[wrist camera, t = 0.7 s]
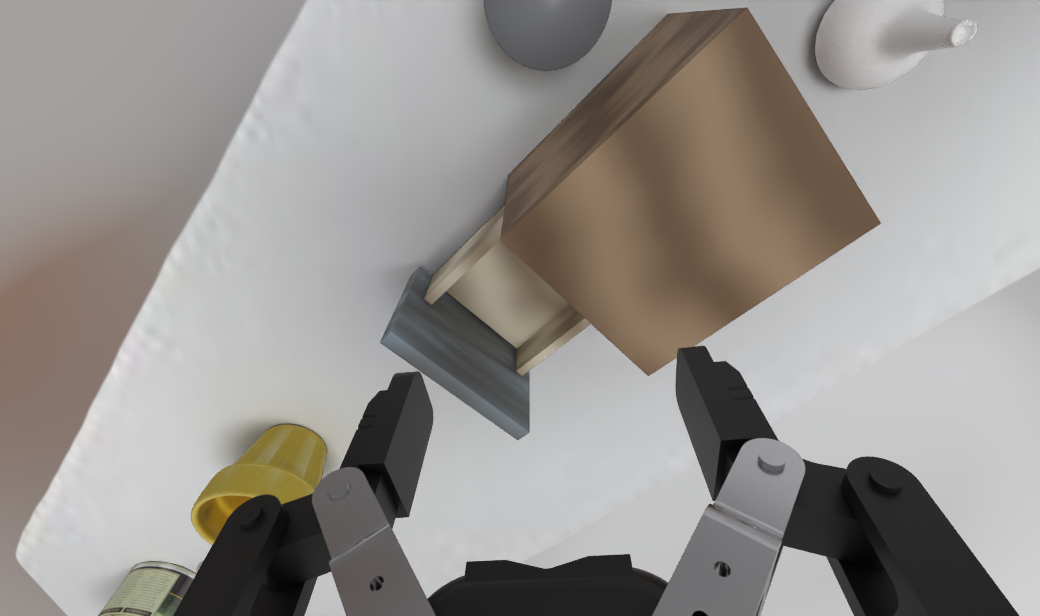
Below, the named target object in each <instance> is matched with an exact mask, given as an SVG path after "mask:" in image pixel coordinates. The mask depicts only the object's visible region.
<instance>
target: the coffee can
mask: <svg viewBox="0 0 1040 616" xmlns="http://www.w3.org/2000/svg"><path fill="white" fill-rule="evenodd" d="M195 576H196V573H194V572H192V571H191V570H188V569H186V568H184V567H181V566H178V565H175V564H171V563H165V562H154V561H151V562H143V563H140V564H137V565H136V566H134V567H133V568H132V569H131V571H130V573H129V574H128V576H127V577H126V578H125V580H124V581H123V582H122V584H121V585H120V587H119V588H118V589H117V591H116V592H115V593H114V595H113V596H112V597H111V599H110V600H109V602H108V603H107V604H106V606H105V607H104V608H103V610H102V611H101V612H100V614H99V615H98V616H173V615H174V613H175V611H176V610H177V608H178V606H179V604H180V602H181V601H182V599H183V597H184V595H185V594H186V592H187V590H188V588H189V586H190V585H191V583H192V581H193V579H194V577H195Z"/></svg>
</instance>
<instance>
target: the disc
mask: <svg viewBox="0 0 1040 616" xmlns="http://www.w3.org/2000/svg"><path fill="white" fill-rule="evenodd" d="M611 3H612V0H484V5H485V12H486V17H487V21H488V24H489V27H490V29H491V32H492V34H493V36H494V38H495V39H496V41H497V43H498V44H499V45H500V47H501V48H502V49H503V51H504V52H505V53H507V54H508V55H509V56H510V57H511V58H512V59H513V60H515V61H516V62H518V63H520V64H521V65H523V66H526V67H529V68H532V69H536V70H545V71H547V70H556V69H561V68H564V67H566V66H569V65H571V64H573V63H575V62H576V61H578V60H579V59H581V58H582V57H583V56H584V55H585V54H587V53H588V52H589V51H590V50H591V48H592V47H593V46H594V45H595V44H596V42H597V41H598V39H599V37H600V36H601V34H602V32H603V30H604V28H605V26H606V23H607V20H608V17H609V13H610V9H611Z"/></svg>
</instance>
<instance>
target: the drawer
mask: <svg viewBox="0 0 1040 616" xmlns="http://www.w3.org/2000/svg"><path fill="white" fill-rule="evenodd" d="M504 207H505V205H504V206H503V207H502V208H501V209H500V210H499V211H498V212H497V213H496V214H495V215H494V216H493V217H492V218H491V219H490V220H489V221H488V222H487V223H486V224H485V225H484V226H483V227H482V228H481V229H479V230H478V231H477V232H476V233H475V234H474V235H473V236H472V237H471V238H470V239H469V240H468V241H467V242H466V243H465V244H464V245H463V246H462V247H461V248H460V249H459V250H458V251H457V252H456V253H455V254H454V255H453V256H452V257H451V258H450V259H449V260H448V261H447V262H446V263H445V264H444V265H443V266H442V267H441V268H440V269H439V270H438V271H437V272H436V273H435V274H434V275H433V277H431V276H430V275H429V274H428V273H426V272H425V271H424V270H423V269H421V268H419V269H418V270H417V271H416V272H415V273H414V274H413V275H412V276H411V277H410V279H409V281H408V284H407V286H406V288H405V290H404V292H403V294H402V296H401V298H400V301H399V303H398V305H397V307H396V309H395V311H394V313H393V316H392V318H391V320H390V322H389V324H388V326H387V328H386V330H385V333H384V335H383V337H382V339H381V341H380V343H381V344H383V345H384V346H385V347H387V348H388V349H390V350H391V351H393V352H394V353H395V354H397V355H398V356H400V357H401V358H402V359H404V360H405V361H407V362H408V363H409V364H411V365H412V366H414V367H415V368H417V369H418V370H419V371H421V372H422V373H424V374H425V375H426V376H428V377H429V378H431V379H432V380H433V381H435V382H436V383H438V384H439V385H440V386H442V387H443V388H445V389H446V390H448V391H449V392H450V393H452V394H453V395H455V396H456V397H457V398H459V399H460V400H462V401H463V402H464V403H466V404H467V405H469V406H470V407H472V408H473V409H474V410H476V411H477V412H479V413H480V414H481V415H483V416H484V417H486V418H487V419H488V420H490V421H491V422H493V423H494V424H495V425H497V426H498V427H500V428H501V429H503V430H504V431H505V432H507V433H508V434H510V435H511V436H512V437H514V438H515V439H517V440H519V439H521V438H522V437H524V436H525V435H527V434H528V433H529V370H531V369H532V368H533V367H535V366H536V365H537V364H539V363H540V362H541V361H543V360H544V359H545V358H546V357H548V356H549V355H550V354H552V353H553V352H554V351H556V350H557V349H558V348H560V347H561V346H562V345H564V344H565V343H566V342H568V341H569V340H570V339H572V338H573V337H574V336H576V335H577V334H578V333H580V332H581V331H582V330H584V329H585V328H586V327H587V326H589V325H590V324H591V323H590V322H589V321H587V320H586V319H585V318H584V317H583V316H582V315H581V314H580V313H579V312H578V311H577V310H575V309H574V308H573V307H572V306H571V305H570V304H569V303H568V302H567V301H566V300H565V299H563V298H562V297H561V296H560V295H559V294H558V293H557V292H556V291H555V290H554V289H553V288H551V287H550V286H549V285H548V284H547V283H546V282H545V281H544V280H543V279H542V278H541V277H539V276H538V275H537V274H536V273H535V272H534V271H533V270H532V269H531V268H530V267H529V266H527V265H526V264H525V263H524V262H523V261H522V260H521V259H520V258H519V257H518V256H517V255H515V254H514V253H513V252H512V251H511V250H510V249H509V248H508V247H507V246H506V245H505V244H503V243H502V242H501V241H500V237H501V229H502V222H503V214H504Z"/></svg>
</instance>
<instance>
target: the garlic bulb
mask: <svg viewBox="0 0 1040 616" xmlns="http://www.w3.org/2000/svg"><path fill="white" fill-rule="evenodd" d="M943 14H944V2H943V0H834V2H833V3H832V4H831V5H830V7H829V8H828V10H827V11H826V13H825V15H824V17H823V19H822V21H821V23H820V25H819V29H818V32H817V35H816V42H815V54H816V60H817V63H818V66H819V68H820V70H821V72H822V73H823V75H824V76H825V77H826V78H827V79H828V80H830V81H831V82H833V83H834V84H836V85H838V86H841V87H844V88H848V89H856V90H863V89H871V88H876V87H879V86H882V85H885V84H888V83H890V82H892V81H895V80H897V79H898V78H900V77H902V76H903V75H904V74H906V73H907V72H909V71H910V70H911V69H912V68H913V67H914V66H915V65H917V64H918V63H919V62H920V61H921V59H922V58H923V57H924V56H925V55H926V54H927V52H928V51H929V50H936V49H942V48H947V47H957V46H959V45H961V44H962V43H966V42H969V41H970V40H971V39H972V38H973V37H974V35H975V33H976V32H977V28H978V26H977V23H976V21H975V22H973V20H971V19H969V20H968V19H967V20H966V21H965V20H963V21H962V20H958V19H953V18H948V17H943ZM970 20H971V21H970Z"/></svg>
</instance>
